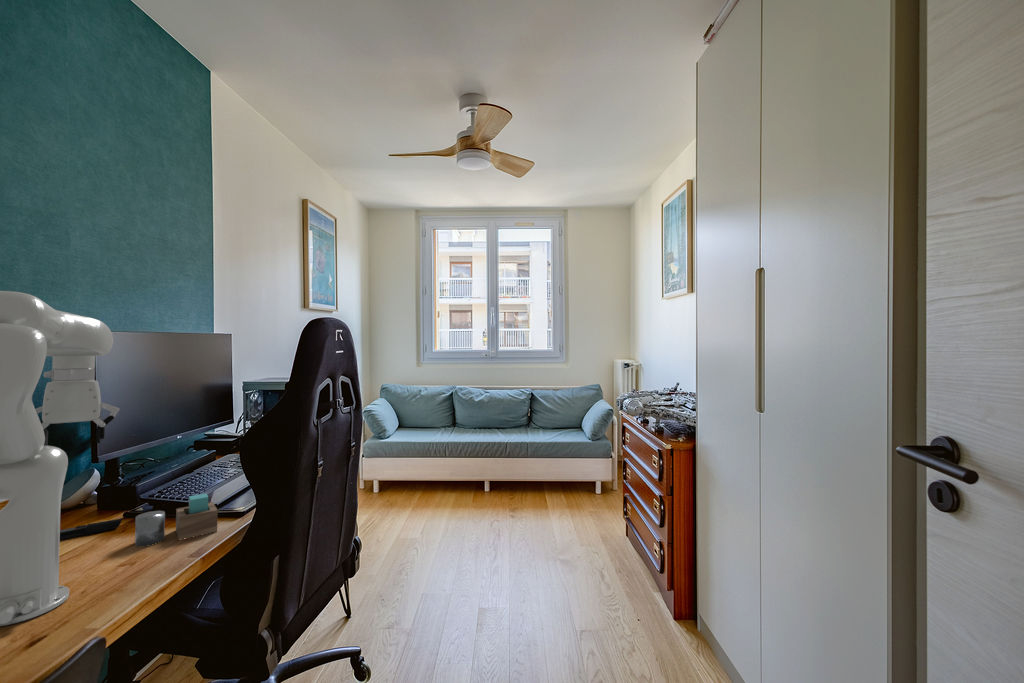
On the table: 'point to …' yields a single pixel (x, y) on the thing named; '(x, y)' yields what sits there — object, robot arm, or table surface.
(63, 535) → the electric trimmer
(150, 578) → the table surface
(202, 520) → the block
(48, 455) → the robot arm
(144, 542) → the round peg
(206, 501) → the square peg
